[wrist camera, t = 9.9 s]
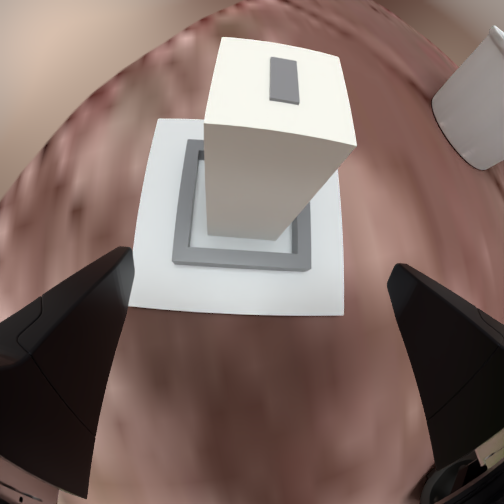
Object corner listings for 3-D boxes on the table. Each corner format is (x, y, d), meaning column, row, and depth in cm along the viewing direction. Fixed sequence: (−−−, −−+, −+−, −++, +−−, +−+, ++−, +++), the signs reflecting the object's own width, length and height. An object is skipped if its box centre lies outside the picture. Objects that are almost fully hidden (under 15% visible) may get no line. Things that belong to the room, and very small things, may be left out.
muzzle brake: (451, 437, 21) (512, 458, 11) (496, 483, 19) (532, 495, 9) (398, 500, 18) (450, 539, 8) (463, 524, 17) (496, 542, 7)
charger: (275, 240, 21) (358, 143, 8) (207, 235, 21) (203, 120, 8) (276, 180, 22) (339, 54, 9) (214, 174, 22) (222, 34, 9)
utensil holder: (451, 88, 33) (506, 31, 16) (500, 160, 31) (567, 115, 14) (411, 96, 30) (481, 16, 13) (474, 187, 28) (566, 131, 11)
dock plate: (337, 315, 22) (352, 315, 19) (132, 306, 20) (121, 305, 17) (329, 142, 25) (339, 127, 23) (160, 126, 23) (155, 108, 21)
